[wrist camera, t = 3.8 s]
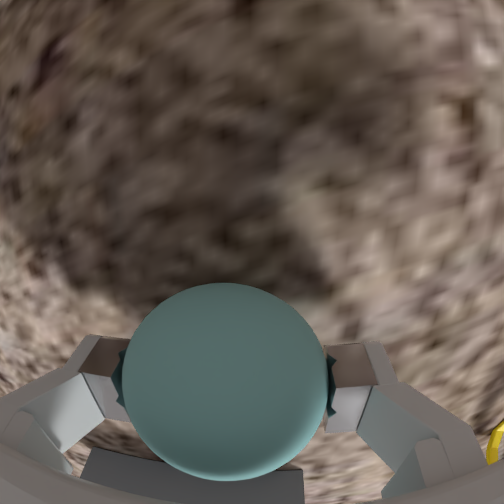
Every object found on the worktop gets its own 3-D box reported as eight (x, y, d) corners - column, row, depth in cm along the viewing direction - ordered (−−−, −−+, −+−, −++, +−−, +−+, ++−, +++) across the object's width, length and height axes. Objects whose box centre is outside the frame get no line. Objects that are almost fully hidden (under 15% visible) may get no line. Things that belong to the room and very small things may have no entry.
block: (93, 446, 14) (76, 484, 11) (302, 470, 13) (305, 517, 10) (100, 456, 14) (85, 493, 11) (300, 478, 14) (302, 523, 11)
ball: (142, 250, 9) (48, 368, 4) (320, 248, 8) (374, 386, 4) (169, 376, 11) (133, 494, 6) (307, 379, 10) (323, 506, 6)
